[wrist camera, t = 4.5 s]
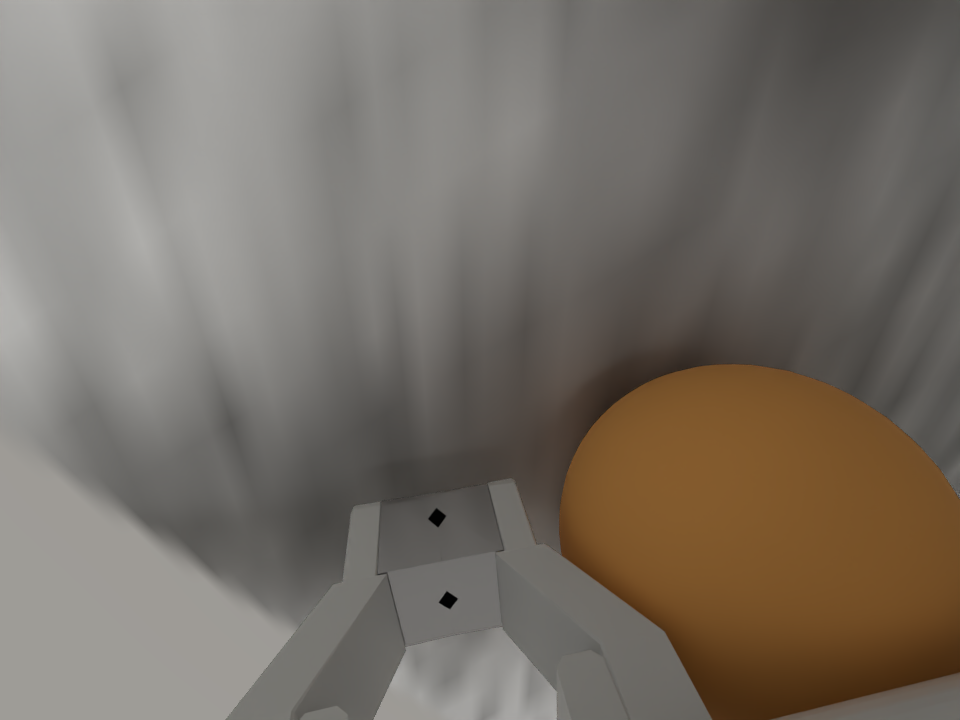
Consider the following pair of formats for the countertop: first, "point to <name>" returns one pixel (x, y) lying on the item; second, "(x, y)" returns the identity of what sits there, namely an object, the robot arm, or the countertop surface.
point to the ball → (770, 537)
